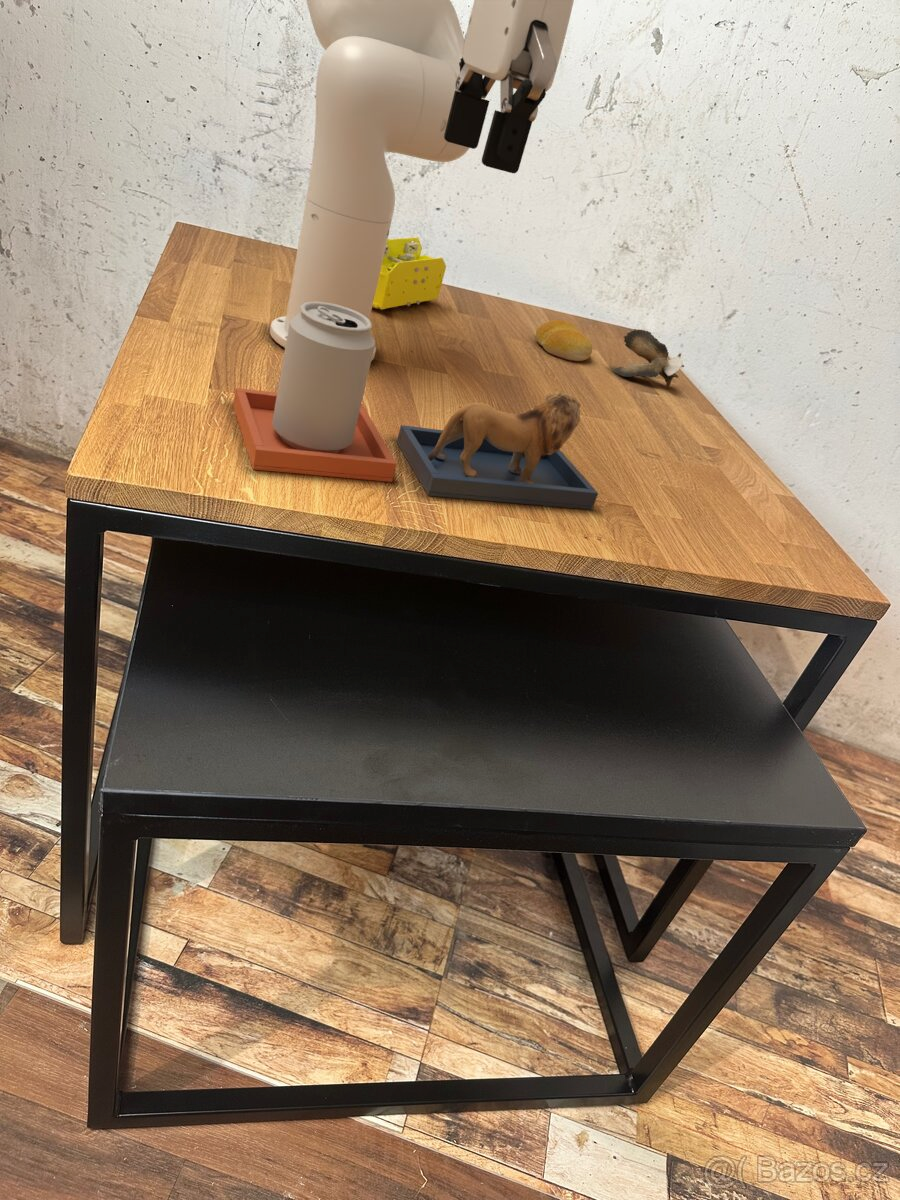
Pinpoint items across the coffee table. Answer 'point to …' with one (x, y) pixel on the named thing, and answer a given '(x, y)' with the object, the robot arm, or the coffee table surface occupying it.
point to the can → (323, 377)
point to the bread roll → (564, 340)
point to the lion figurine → (512, 432)
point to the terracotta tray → (274, 454)
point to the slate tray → (493, 473)
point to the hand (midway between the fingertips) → (478, 156)
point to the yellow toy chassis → (407, 275)
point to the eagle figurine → (650, 357)
